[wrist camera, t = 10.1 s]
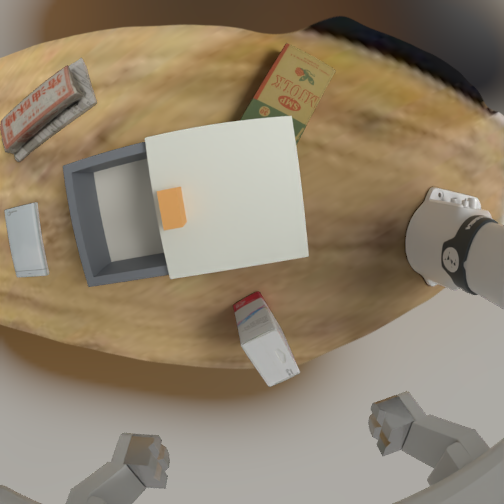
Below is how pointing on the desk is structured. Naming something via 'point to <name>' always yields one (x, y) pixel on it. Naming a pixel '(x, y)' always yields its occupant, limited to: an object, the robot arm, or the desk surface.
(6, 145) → the packaged product
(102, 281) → the charcoal box
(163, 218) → the lid flap
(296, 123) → the carton
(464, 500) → the robot arm
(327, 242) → the desk surface
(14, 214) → the hard drive
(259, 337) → the ink box
